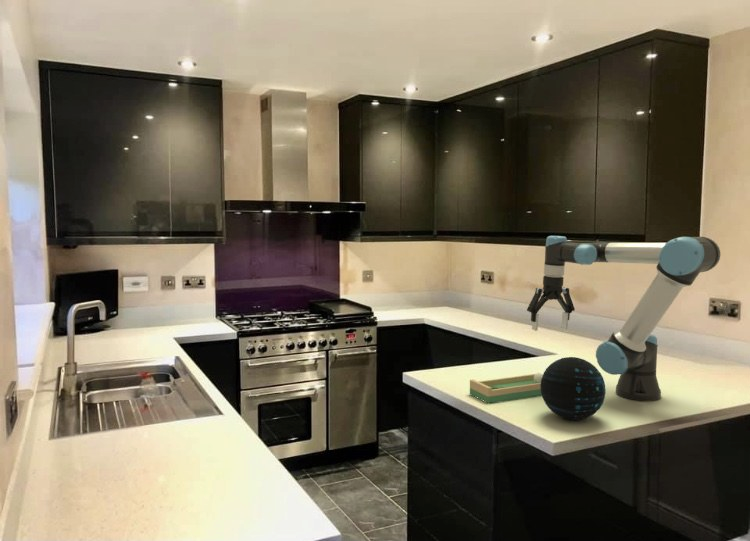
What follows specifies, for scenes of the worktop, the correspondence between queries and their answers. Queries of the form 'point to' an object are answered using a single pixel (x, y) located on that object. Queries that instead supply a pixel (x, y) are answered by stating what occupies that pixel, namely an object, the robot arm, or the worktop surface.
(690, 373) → the worktop surface
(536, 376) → the ball
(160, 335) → the worktop surface
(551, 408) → the decorative sphere
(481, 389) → the tray
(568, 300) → the robot arm
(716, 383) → the worktop surface
